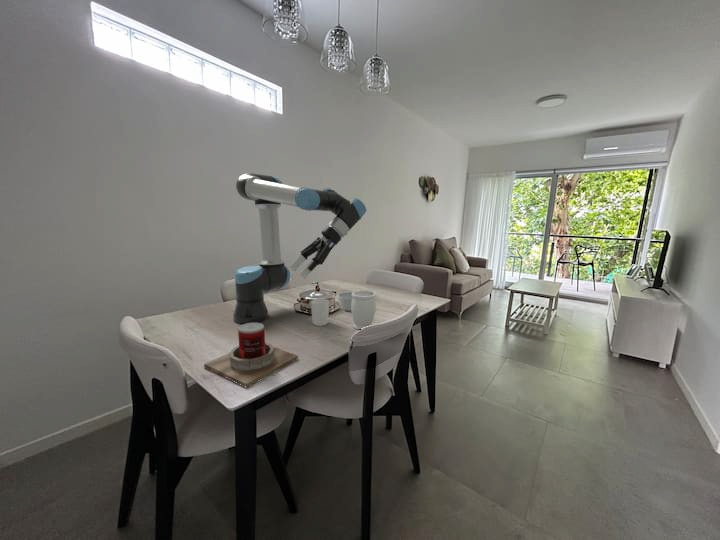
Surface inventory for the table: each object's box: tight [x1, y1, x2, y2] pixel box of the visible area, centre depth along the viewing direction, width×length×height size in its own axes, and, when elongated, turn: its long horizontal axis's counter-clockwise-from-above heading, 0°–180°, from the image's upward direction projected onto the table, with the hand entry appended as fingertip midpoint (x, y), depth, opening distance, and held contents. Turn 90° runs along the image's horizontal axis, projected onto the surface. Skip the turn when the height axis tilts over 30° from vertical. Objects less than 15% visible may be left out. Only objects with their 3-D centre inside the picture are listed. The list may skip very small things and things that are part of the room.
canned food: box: [237, 322, 266, 359], centre depth 92 cm, size 8×8×11 cm
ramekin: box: [337, 291, 353, 312], centre depth 151 cm, size 13×13×7 cm
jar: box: [350, 290, 377, 331], centre depth 125 cm, size 11×10×15 cm
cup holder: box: [203, 342, 299, 388], centre depth 93 cm, size 20×20×4 cm
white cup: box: [310, 298, 330, 327], centre depth 128 cm, size 8×8×10 cm
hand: (296, 272), depth 108 cm, fingers open, 13 cm apart
